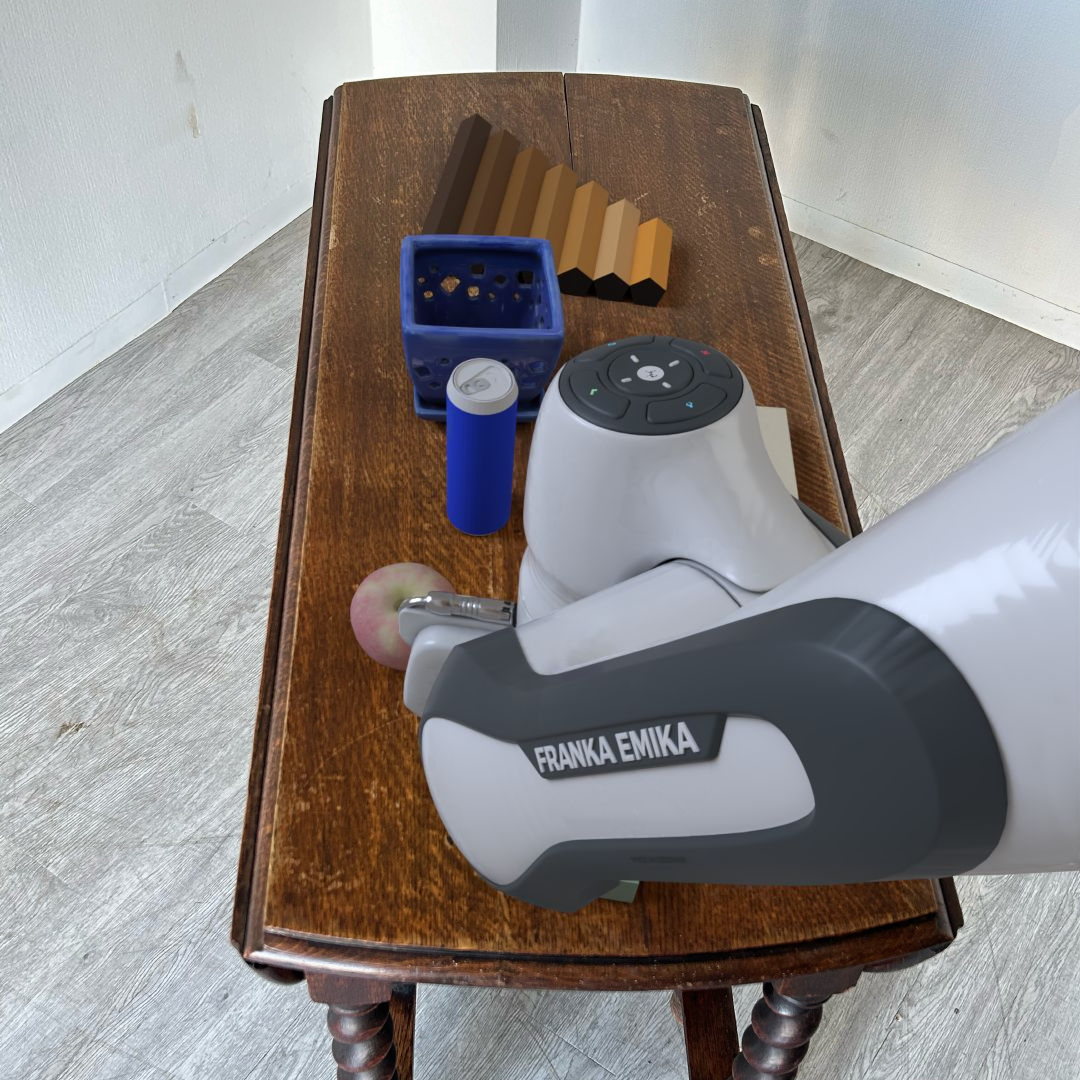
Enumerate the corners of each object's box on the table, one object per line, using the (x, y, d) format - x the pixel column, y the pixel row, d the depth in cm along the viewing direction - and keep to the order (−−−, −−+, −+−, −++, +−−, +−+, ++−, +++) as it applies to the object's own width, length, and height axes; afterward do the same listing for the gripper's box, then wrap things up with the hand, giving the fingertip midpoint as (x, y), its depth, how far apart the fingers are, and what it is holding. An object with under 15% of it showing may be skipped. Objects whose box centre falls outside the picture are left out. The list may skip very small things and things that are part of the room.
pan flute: (460, 138, 126) (413, 272, 110) (461, 110, 124) (412, 243, 108) (679, 168, 125) (662, 307, 109) (683, 140, 123) (668, 279, 107)
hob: (812, 618, 87) (821, 598, 84) (695, 610, 86) (701, 590, 84) (786, 428, 100) (793, 407, 98) (684, 420, 100) (689, 399, 98)
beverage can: (484, 482, 93) (489, 346, 82) (522, 520, 91) (533, 385, 79) (434, 510, 91) (432, 373, 79) (472, 550, 89) (476, 415, 77)
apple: (333, 661, 81) (323, 596, 75) (394, 591, 86) (390, 524, 79) (423, 713, 79) (420, 650, 73) (481, 638, 83) (484, 573, 77)
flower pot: (545, 339, 105) (554, 232, 96) (556, 439, 97) (567, 333, 88) (404, 338, 104) (399, 230, 95) (403, 440, 96) (398, 333, 87)
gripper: (380, 641, 52) (394, 781, 63) (818, 707, 51) (756, 837, 62) (409, 539, 56) (418, 687, 67) (815, 599, 55) (758, 738, 66)
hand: (583, 760), depth 64 cm, fingers closed
